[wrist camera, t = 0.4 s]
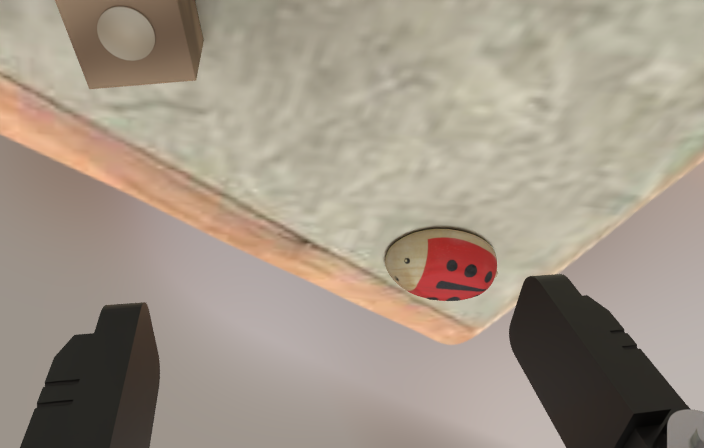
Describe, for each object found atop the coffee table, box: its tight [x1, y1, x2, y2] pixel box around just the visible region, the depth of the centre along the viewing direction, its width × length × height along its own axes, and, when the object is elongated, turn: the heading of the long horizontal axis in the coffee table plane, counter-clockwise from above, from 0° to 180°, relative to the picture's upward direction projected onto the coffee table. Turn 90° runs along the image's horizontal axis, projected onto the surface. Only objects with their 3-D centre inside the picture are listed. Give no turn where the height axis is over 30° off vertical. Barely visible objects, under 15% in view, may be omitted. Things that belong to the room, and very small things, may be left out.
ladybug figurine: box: [385, 229, 498, 301], centre depth 42 cm, size 7×10×4 cm
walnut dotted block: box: [55, 0, 204, 89], centre depth 25 cm, size 5×5×5 cm
